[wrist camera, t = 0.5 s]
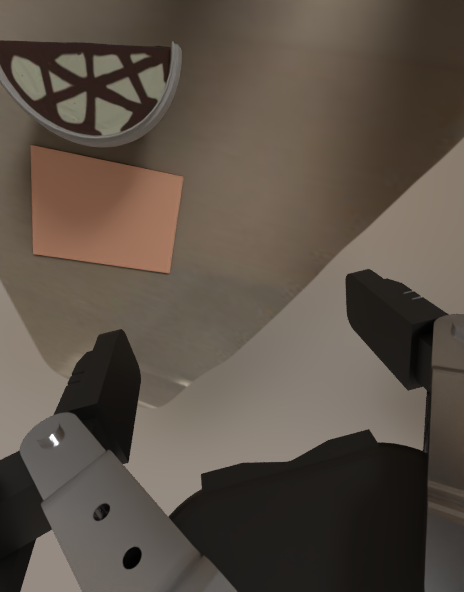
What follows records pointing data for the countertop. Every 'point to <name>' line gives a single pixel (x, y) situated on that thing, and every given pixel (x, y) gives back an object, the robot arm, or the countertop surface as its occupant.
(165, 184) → the plate
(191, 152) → the countertop surface
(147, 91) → the food container
